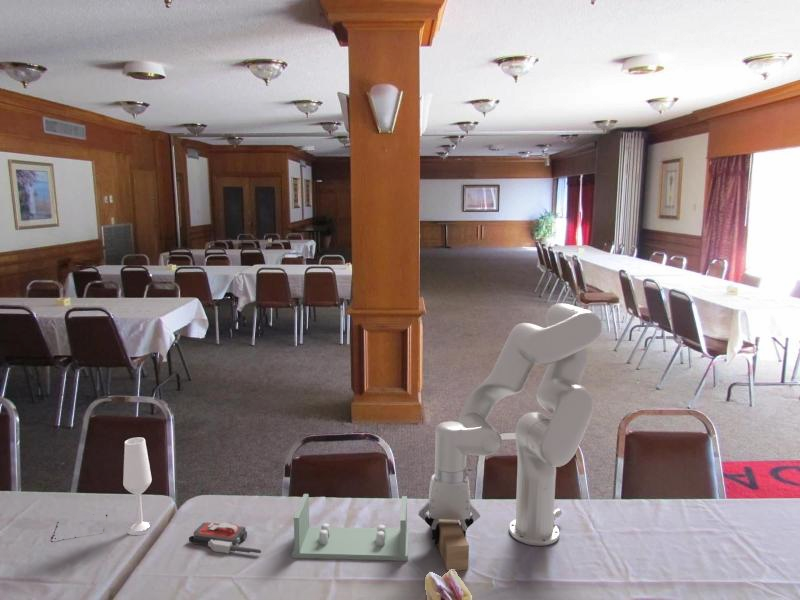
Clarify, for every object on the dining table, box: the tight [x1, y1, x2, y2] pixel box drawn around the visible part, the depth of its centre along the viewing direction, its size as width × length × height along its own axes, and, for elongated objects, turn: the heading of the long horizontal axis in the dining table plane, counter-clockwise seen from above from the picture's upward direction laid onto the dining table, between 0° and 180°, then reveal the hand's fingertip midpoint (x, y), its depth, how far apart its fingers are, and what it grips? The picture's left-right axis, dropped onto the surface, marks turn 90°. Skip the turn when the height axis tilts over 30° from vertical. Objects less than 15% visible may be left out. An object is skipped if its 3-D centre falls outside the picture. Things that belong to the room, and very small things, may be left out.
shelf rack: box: [291, 493, 410, 562], centre depth 147 cm, size 28×12×10 cm, turn 88°
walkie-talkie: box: [188, 521, 262, 554], centre depth 148 cm, size 9×4×20 cm
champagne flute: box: [122, 436, 153, 531], centre depth 153 cm, size 7×7×24 cm
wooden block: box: [437, 519, 470, 571], centre depth 147 cm, size 20×5×6 cm, turn 8°
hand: (448, 541), depth 147 cm, fingers closed on wooden block, 5 cm apart
